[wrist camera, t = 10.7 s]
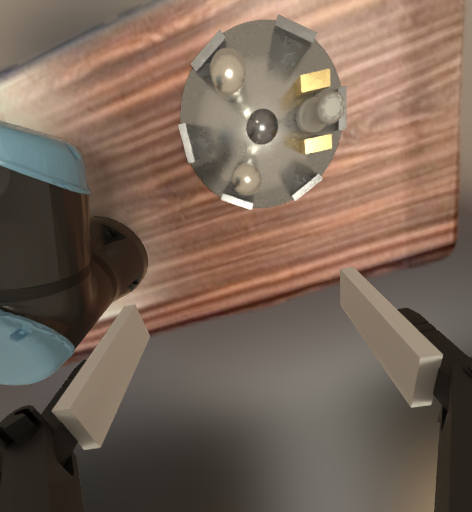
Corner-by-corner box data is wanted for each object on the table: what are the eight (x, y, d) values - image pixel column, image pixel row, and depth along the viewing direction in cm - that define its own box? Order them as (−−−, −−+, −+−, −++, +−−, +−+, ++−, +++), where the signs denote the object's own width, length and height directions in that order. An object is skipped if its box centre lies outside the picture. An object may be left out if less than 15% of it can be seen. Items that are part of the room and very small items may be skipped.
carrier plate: (204, 218, 40) (199, 229, 34) (160, 49, 30) (143, 25, 24) (340, 191, 38) (359, 198, 32) (338, 4, 29) (365, -34, 23)
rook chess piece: (294, 100, 32) (312, 85, 24) (327, 95, 31) (355, 78, 24) (295, 137, 33) (313, 133, 26) (326, 132, 33) (353, 126, 26)
